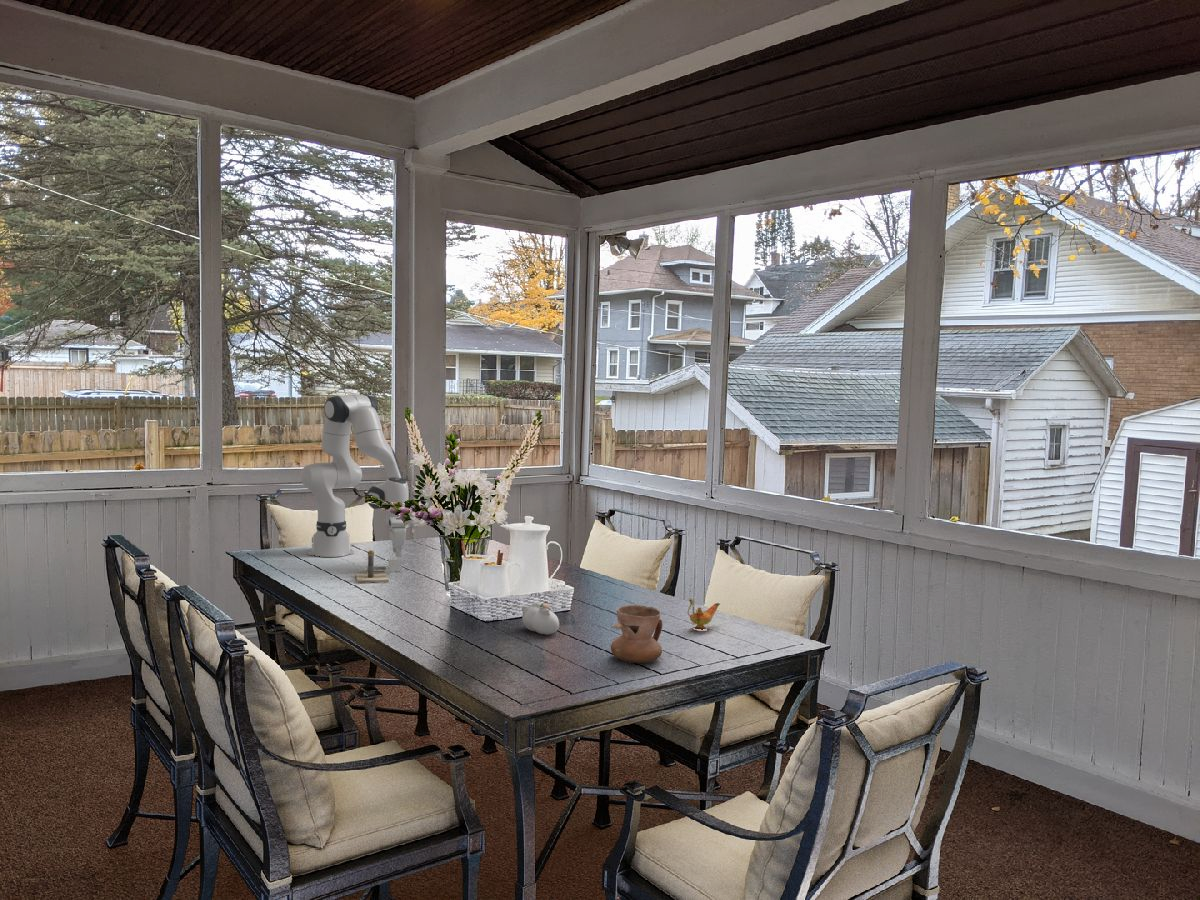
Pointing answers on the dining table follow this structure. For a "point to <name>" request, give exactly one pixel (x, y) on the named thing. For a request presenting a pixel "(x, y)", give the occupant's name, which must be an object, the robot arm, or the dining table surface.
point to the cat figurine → (540, 618)
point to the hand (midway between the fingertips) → (396, 554)
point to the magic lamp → (702, 615)
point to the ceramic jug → (637, 634)
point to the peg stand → (371, 572)
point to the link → (393, 566)
